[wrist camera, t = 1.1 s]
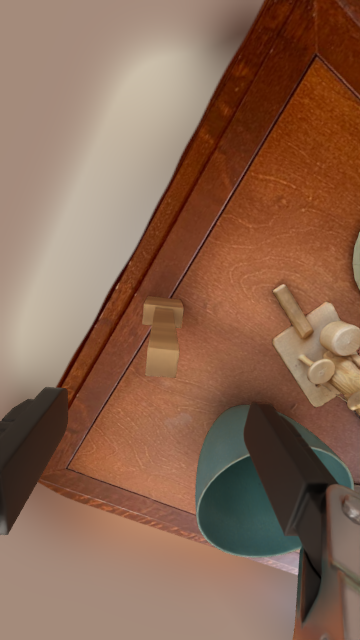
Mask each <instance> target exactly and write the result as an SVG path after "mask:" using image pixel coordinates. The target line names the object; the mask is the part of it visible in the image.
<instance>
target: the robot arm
mask: <svg viewBox="0 0 360 640" xmlns="http://www.w3.org/2000/svg"><path fill="white" fill-rule="evenodd" d="M67 424H68V392H67V389H66V388H54V387H45V388H44V389H43V390H42V391H41V392H40V393H39V394H38V395H37V396H36V398H35V399H34V400H32V399H27V400H26V401H24V402H23V403H21V404H19V405H18V406H16V407H14V408H13V409H12V410H11V411H10V412H9V413H8V414H7V415H6V416H5V417H4V418H3V419H2V421H0V535H8V533H9V531H10V530H11V528H12V526H13V524H14V523H15V521H16V519H17V517H18V516H19V514H20V512H21V510H22V509H23V507H24V505H25V503H26V501H27V499H28V498H29V496H30V494H31V493H32V491H33V489H34V487H35V485H36V484H37V482H38V480H39V478H40V477H41V475H42V473H43V471H44V469H45V468H46V466H47V464H48V462H49V461H50V459H51V457H52V455H53V453H54V452H55V450H56V448H57V446H58V445H59V443H60V441H61V439H62V437H63V436H64V433H65V431H66V428H67ZM243 436H244V442H245V445H246V448H247V450H248V452H249V455H250V457H251V459H252V462H253V464H254V466H255V468H256V471H257V473H258V475H259V478H260V480H261V482H262V485H263V487H264V489H265V492H266V494H267V496H268V499H269V501H270V503H271V506H272V508H273V510H274V512H275V515H276V517H277V519H278V522H279V524H280V526H281V529H282V531H283V533H284V536H298V537H299V539H300V541H301V543H302V547H301V549H300V557H299V572H298V588H297V602H296V617H295V628H294V635H293V640H360V494H359V493H357V492H356V491H354V490H352V489H350V488H348V487H346V486H343V485H339V484H338V482H337V481H336V480H335V478H334V477H333V476H332V474H331V473H330V472H329V471H328V469H327V468H326V467H325V465H324V464H323V463H322V461H321V460H320V459H319V458H318V456H317V455H316V454H315V452H314V451H313V450H312V448H311V447H309V445H308V443H307V442H306V441H305V439H304V438H302V435H301V434H300V433H299V432H298V430H297V429H296V428H295V426H294V425H293V424H292V423H290V422H289V421H288V420H287V419H286V418H284V417H283V416H280V415H279V414H278V413H277V411H276V410H275V408H274V407H273V406H272V405H271V404H270V403H262V402H252V403H251V405H250V408H249V412H248V415H247V419H246V423H245V427H244V432H243Z"/></svg>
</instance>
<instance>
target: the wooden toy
mask: <svg viewBox="0 0 360 640" xmlns="http://www.w3.org/2000/svg"><path fill="white" fill-rule="evenodd" d="M273 293H274V295H275V296H276V298H277V299H278V301H279V303H280V304H281V306H282V308H283V310H284V311H285V313H286V315H287V316H288V317H289V319H290V322H291V323H292V325H291V326H290V327H289V328H287V329H286V330H285V331H283V332H282V333H280V334H279V335H278V336H276V337H275V338H273V340H272V341H273V343H272V345H273V346H274V347H275V349H276V351H277V352H278V354H279V355H280V357H281V358H282V360H283V361H284V363H285V364H286V366H287V367H288V369H289V370H290V372H291V374H292V375H293V377H294V378H295V380H296V381H297V383H298V384H299V386H300V387H301V389H302V390H303V392H304V394H305V395H306V397H307V398H308V400H309V401H310V403H311V404H312V405H313V406H314V407H319V406H323V404H325V403H327V402H328V401H330V400H331V399H333V398H335V397H337V396H338V397H340V398H341V399H343V398H342V397H341V396H339V394H341V393H342V394H343V395H344V397H345V398H346V399H347V400H345V399H343V400H344V401H346V402H347V407H348V408H349V409H350V410H356V411H357V412H358V413H359V414H360V356H359V355H358V354H357V350H358V349H359V347H360V329H359V328H358V327H357V326H354V325H351V324H348V323H345V322H343V321H341V320H340V318H339V316H338V314H337V312H336V310H335V308H334V306H333V304H332V303H329V302H324V303H323V304H322V305H320V306H319V307H318V308H316V309H315V310H313V311H312V312H310V313H309V314H307V315H306V316H305V315H304V314H303V312H302V310H301V309H300V307H299V306H298V304H297V302H296V301H295V299H294V297H293V295H292V293H291V292H290V291H289V289H288V287H287V286H286V285H285V284H282V285H281V286H279V287H277V288H276V289H274V290H273Z"/></svg>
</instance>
